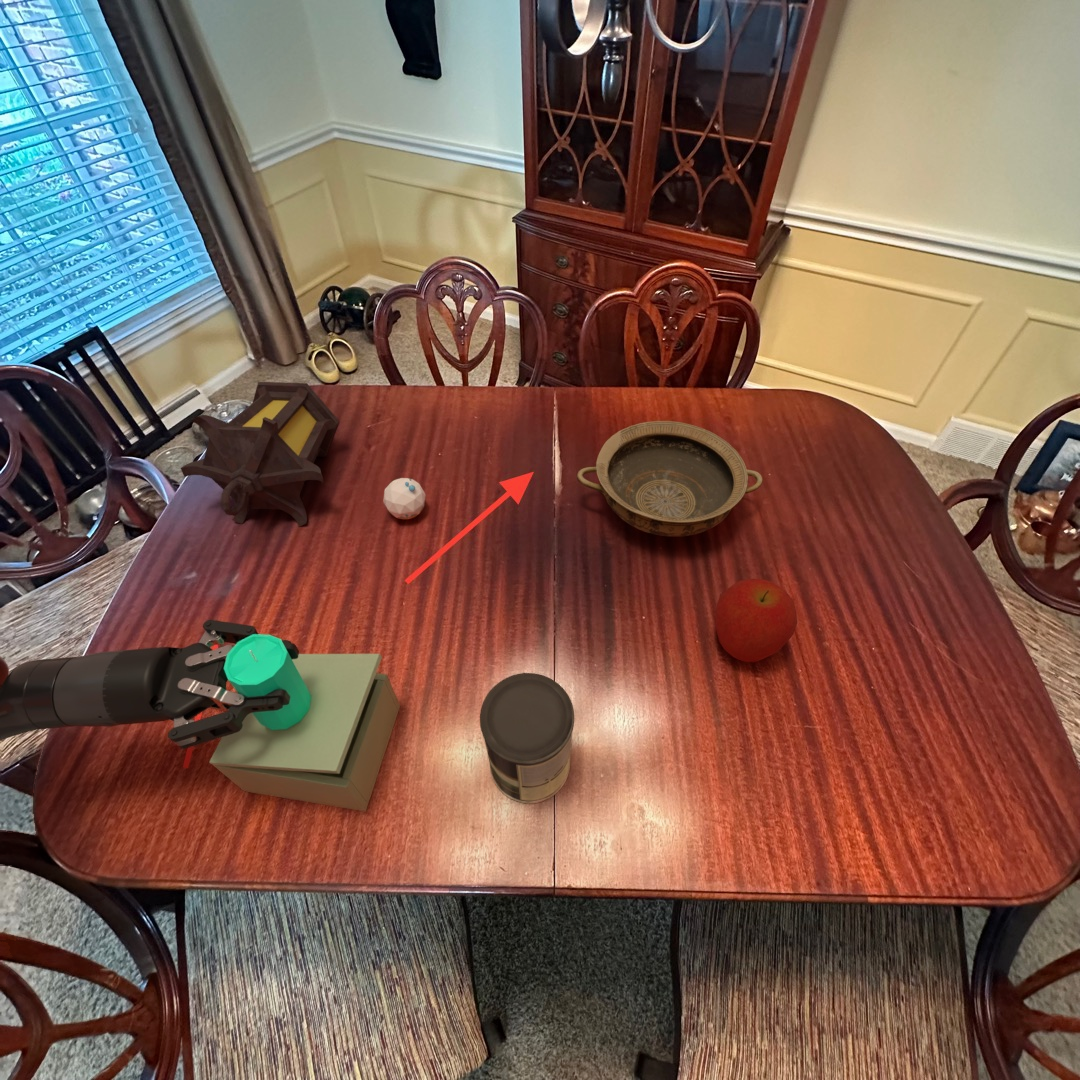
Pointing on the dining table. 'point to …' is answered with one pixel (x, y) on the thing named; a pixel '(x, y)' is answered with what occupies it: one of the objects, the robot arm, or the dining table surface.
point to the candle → (268, 678)
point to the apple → (754, 619)
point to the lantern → (267, 450)
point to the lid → (308, 719)
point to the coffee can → (528, 736)
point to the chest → (357, 767)
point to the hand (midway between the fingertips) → (291, 672)
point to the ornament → (404, 498)
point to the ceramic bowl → (670, 477)
